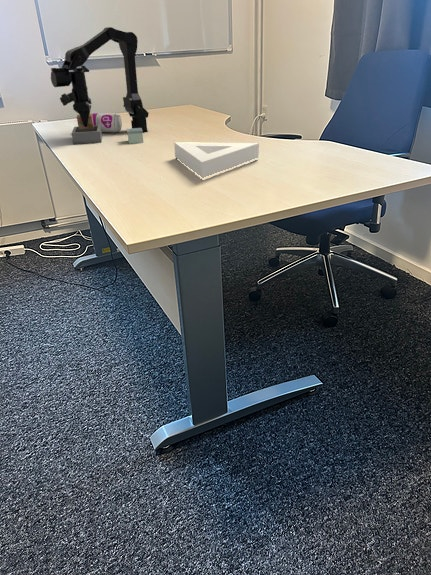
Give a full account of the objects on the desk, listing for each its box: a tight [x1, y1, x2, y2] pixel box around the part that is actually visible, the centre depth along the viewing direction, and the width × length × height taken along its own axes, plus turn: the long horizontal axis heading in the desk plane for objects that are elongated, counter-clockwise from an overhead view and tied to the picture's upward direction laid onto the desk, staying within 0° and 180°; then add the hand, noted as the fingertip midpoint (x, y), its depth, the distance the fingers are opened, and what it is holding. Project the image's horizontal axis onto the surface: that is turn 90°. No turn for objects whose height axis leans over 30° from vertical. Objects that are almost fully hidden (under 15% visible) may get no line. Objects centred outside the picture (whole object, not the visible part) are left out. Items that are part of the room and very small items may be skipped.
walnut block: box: [76, 114, 94, 130], centre depth 183 cm, size 6×6×5 cm
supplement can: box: [90, 112, 123, 134], centre depth 198 cm, size 8×8×15 cm
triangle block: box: [173, 141, 260, 178], centre depth 146 cm, size 30×26×6 cm
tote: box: [71, 125, 103, 145], centre depth 185 cm, size 11×15×4 cm
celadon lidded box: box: [126, 127, 144, 145], centre depth 180 cm, size 6×6×5 cm
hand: (86, 125), depth 183 cm, fingers closed on walnut block, 6 cm apart
